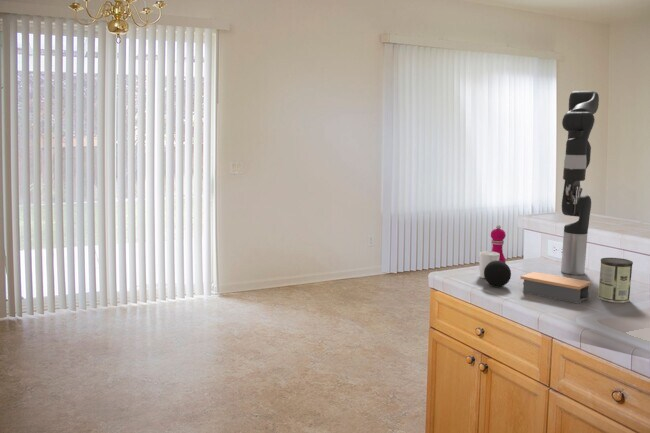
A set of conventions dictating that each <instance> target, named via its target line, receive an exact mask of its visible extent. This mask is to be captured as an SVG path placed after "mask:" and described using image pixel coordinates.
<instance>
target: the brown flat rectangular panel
mask: <svg viewBox="0 0 650 433" xmlns="http://www.w3.org/2000/svg"><path fill="white" fill-rule="evenodd" d="M520 280H523V281H524V280H529V281H535V282H540V283H546V284H551V285H556V286H562V287H567V288H572V289H578V290H580V289H582V288H584V287H586V286H589V287H590V286H591V285H592V281H588V280H583V279H577V278H571V277H567V276H566V277H565V276H560V275H556V274H555V275H554V274H548V273H543V272H537V271H532V272H529V273H525V274H524V275H523V274H522V275H520Z"/></svg>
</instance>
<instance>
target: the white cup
mask: <svg viewBox="0 0 650 433" xmlns="http://www.w3.org/2000/svg"><path fill="white" fill-rule="evenodd" d="M478 254H479V257H478V258H479V265H478V266H479V277H480V278H481V279H485V277H484V269H485V267H486V266H487V264H489V263H490V262H492V261H499V256H500V254H499V253H497V252H492V250H490V251H489V250H483V251H482V250H481V251H480V252H479V253H478Z"/></svg>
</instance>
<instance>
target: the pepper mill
mask: <svg viewBox="0 0 650 433" xmlns="http://www.w3.org/2000/svg"><path fill="white" fill-rule="evenodd" d="M506 236H507V235H506V231H505V230H503V229H502V226H501V225H499V224H497V225H496V228H495V229H492V231H490V237H491V244H492V249H491V251H492V252H497V253H499V254H500V256H499V261H502V262H504V263H506V257H505V255H504V253H503V245H504V244H505V243H504V242H505V241H504V240H505V238H506Z"/></svg>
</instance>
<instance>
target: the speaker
mask: <svg viewBox="0 0 650 433" xmlns="http://www.w3.org/2000/svg"><path fill="white" fill-rule="evenodd" d="M511 272H512V271H511V268H510V266H509V265H508V264H507V263H506V262H505V263H504V262H502V261H492V262H490V263H489V264H487V266H486V267H485V269H484V277H485V278H484V280H485V281H486V282H487V284H488V285H490V286H491V287H495V288H496V287H497V288H500V287H503V286H506V285H507V284H508V283H509V282H510V280H511V276H512V273H511Z"/></svg>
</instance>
